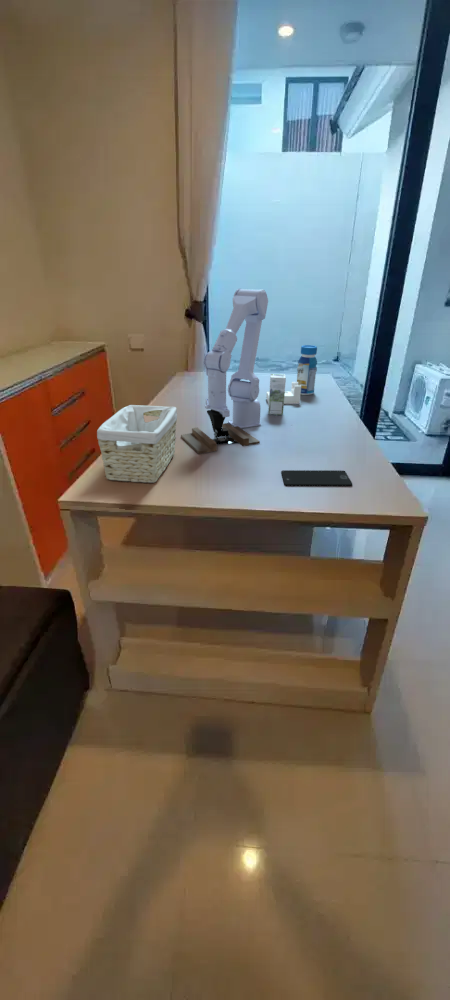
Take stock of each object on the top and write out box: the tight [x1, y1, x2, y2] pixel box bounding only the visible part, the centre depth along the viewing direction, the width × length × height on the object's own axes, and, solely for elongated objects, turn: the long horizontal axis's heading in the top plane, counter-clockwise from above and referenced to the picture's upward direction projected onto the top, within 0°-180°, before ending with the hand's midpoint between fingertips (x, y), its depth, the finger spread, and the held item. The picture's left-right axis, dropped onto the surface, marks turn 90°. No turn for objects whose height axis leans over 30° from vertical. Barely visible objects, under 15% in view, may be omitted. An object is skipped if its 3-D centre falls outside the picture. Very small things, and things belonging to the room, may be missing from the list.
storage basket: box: [96, 404, 178, 484], centre depth 122 cm, size 24×16×15 cm
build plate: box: [211, 428, 238, 446], centre depth 143 cm, size 12×7×5 cm, turn 105°
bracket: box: [265, 381, 301, 405], centre depth 183 cm, size 13×7×8 cm, turn 92°
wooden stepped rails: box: [180, 422, 261, 455], centre depth 143 cm, size 21×16×2 cm
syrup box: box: [267, 373, 287, 416], centre depth 167 cm, size 6×6×14 cm
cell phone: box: [280, 469, 353, 487], centre depth 119 cm, size 9×18×1 cm, turn 90°
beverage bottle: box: [296, 344, 318, 396], centre depth 191 cm, size 8×8×20 cm
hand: (217, 431), depth 145 cm, fingers closed
